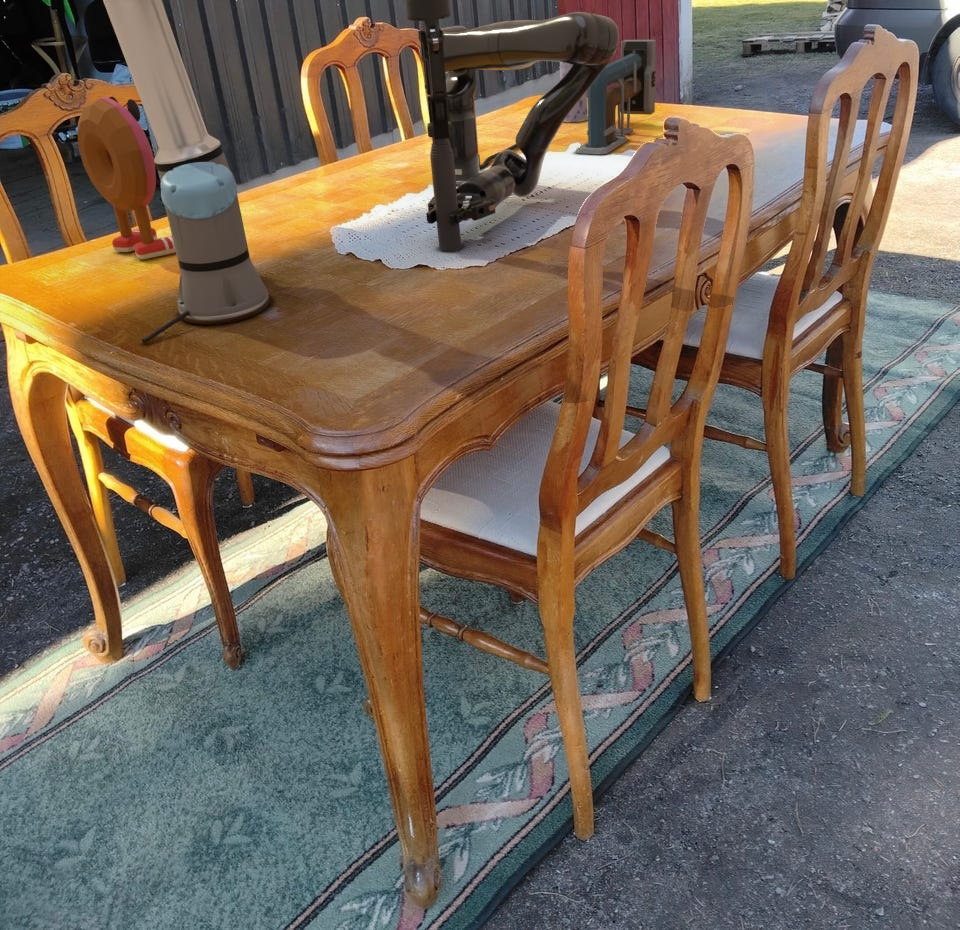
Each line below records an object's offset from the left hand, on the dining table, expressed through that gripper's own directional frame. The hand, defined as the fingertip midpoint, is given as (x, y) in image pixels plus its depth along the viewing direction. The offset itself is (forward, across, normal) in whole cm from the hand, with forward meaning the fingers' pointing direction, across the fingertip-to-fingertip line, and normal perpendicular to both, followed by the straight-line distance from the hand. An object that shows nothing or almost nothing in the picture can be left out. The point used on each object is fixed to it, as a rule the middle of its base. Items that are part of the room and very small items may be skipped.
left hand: (440, 135), depth 175 cm
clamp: (+21, +74, -54) cm, 94 cm away
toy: (+21, +22, +60) cm, 67 cm away
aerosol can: (+21, +102, -50) cm, 115 cm away
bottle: (+21, 0, 0) cm, 21 cm away
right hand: (+15, -2, +2) cm, 15 cm away
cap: (-2, 0, 0) cm, 2 cm away
